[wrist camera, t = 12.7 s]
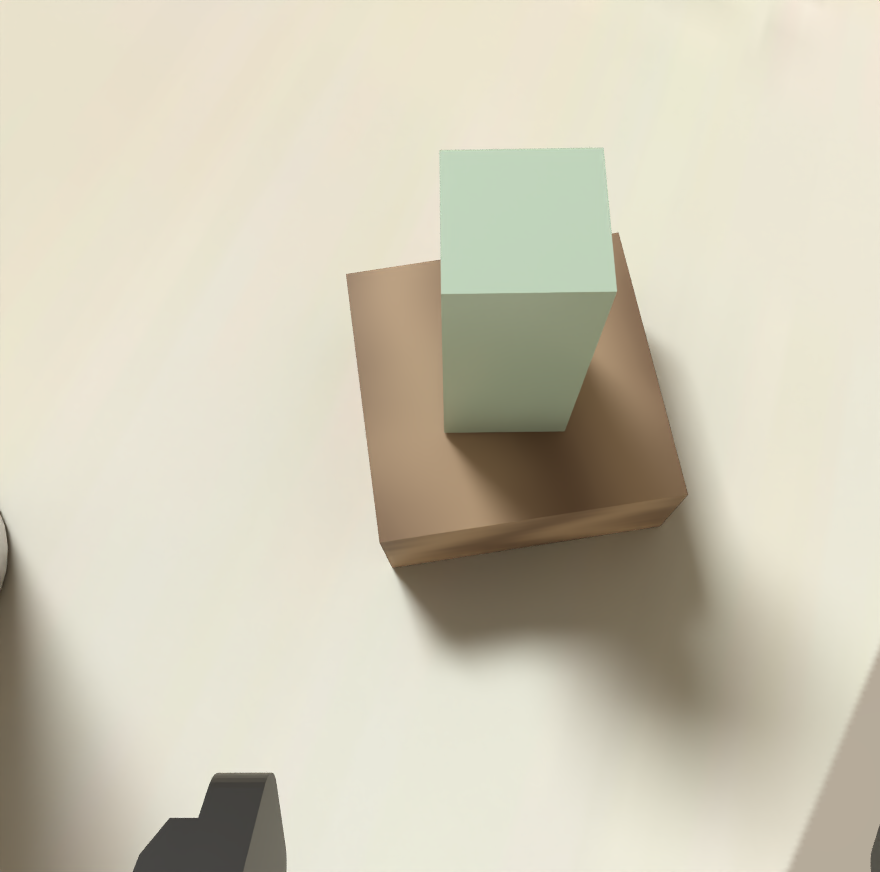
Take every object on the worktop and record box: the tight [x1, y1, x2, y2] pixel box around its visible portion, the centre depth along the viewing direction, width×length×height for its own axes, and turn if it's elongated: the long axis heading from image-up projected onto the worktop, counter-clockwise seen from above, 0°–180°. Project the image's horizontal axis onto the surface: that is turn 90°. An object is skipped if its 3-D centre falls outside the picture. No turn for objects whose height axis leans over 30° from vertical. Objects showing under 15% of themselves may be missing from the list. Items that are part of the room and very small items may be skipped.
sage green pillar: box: [440, 148, 617, 433], centre depth 26 cm, size 4×4×10 cm
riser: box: [346, 233, 688, 568], centre depth 33 cm, size 11×11×5 cm
